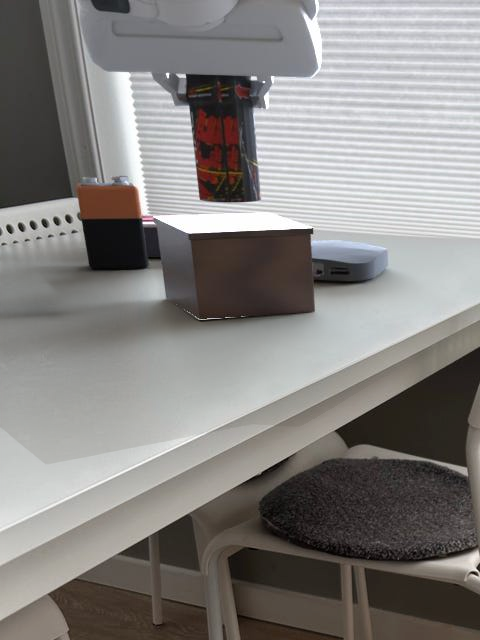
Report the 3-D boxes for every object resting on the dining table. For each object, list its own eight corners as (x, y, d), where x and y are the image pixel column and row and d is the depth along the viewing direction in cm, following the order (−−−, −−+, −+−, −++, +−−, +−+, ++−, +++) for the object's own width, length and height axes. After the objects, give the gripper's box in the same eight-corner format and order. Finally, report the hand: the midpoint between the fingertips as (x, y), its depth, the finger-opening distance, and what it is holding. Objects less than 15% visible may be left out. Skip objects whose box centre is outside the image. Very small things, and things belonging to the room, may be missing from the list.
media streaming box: (393, 265, 123) (392, 240, 122) (371, 285, 111) (370, 258, 109) (283, 259, 124) (281, 235, 123) (249, 279, 112) (246, 252, 110)
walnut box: (198, 321, 92) (188, 232, 88) (163, 298, 101) (152, 216, 97) (317, 311, 97) (313, 227, 93) (274, 290, 107) (268, 212, 102)
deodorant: (189, 197, 94) (168, 17, 87) (243, 195, 98) (227, 21, 90) (216, 203, 90) (197, 16, 83) (271, 200, 94) (258, 20, 86)
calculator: (213, 213, 134) (214, 220, 122) (216, 245, 136) (218, 256, 124) (131, 212, 132) (124, 220, 119) (136, 246, 134) (129, 257, 121)
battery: (149, 268, 115) (136, 178, 110) (90, 270, 113) (74, 178, 108) (146, 263, 119) (134, 174, 114) (89, 264, 117) (73, 174, 112)
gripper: (315, -60, 78) (332, 78, 92) (62, -70, 77) (117, 71, 91) (312, 1, 77) (330, 132, 90) (54, -8, 76) (111, 126, 89)
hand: (221, 102), depth 90 cm, fingers closed on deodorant, 6 cm apart
